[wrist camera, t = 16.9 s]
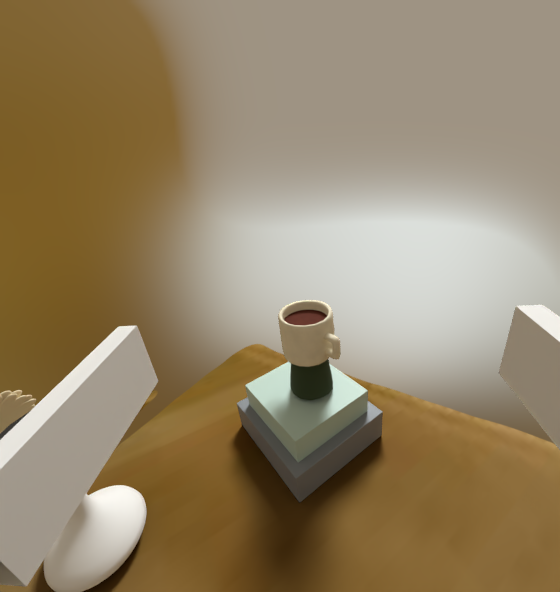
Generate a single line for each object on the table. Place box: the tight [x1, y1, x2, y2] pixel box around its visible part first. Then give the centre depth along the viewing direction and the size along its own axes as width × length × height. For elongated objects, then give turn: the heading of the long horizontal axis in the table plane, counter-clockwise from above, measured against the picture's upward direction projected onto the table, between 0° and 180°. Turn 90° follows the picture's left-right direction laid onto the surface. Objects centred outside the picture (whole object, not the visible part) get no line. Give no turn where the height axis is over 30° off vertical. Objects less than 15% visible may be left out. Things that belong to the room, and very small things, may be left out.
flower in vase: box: [0, 390, 146, 592], centre depth 33 cm, size 13×11×25 cm
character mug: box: [278, 300, 340, 400], centre depth 42 cm, size 11×7×13 cm, turn 42°
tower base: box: [237, 362, 382, 503], centre depth 47 cm, size 16×16×9 cm
